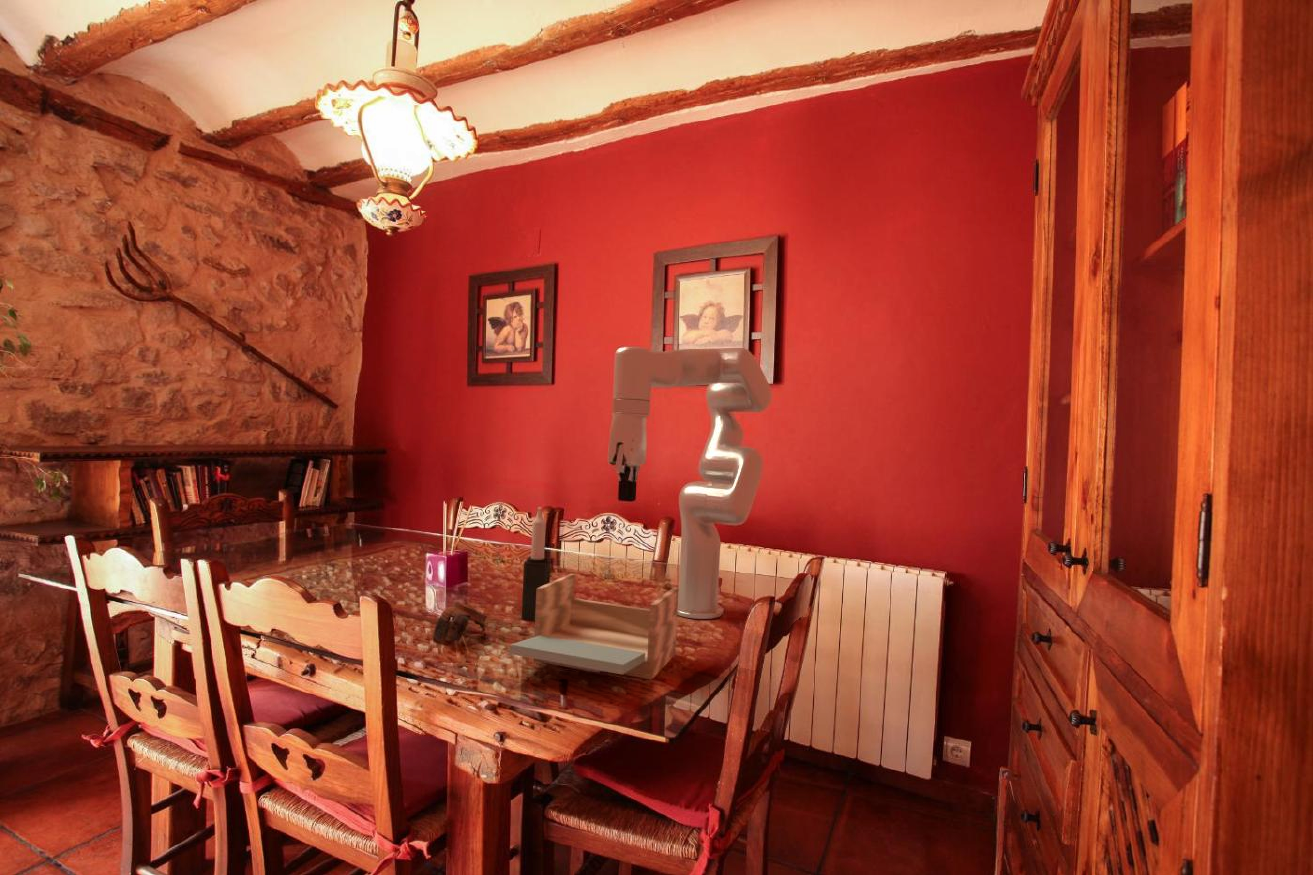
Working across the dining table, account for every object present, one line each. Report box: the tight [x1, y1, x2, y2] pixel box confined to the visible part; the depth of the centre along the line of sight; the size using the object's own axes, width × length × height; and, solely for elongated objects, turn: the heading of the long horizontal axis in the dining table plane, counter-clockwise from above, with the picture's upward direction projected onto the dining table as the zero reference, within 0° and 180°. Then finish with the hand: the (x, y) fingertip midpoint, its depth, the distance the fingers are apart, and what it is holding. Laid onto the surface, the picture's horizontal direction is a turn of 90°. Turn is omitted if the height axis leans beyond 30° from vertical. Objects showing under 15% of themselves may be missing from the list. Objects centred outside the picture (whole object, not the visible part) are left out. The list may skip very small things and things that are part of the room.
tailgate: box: [508, 635, 645, 675], centre depth 108 cm, size 2×21×11 cm
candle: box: [520, 506, 551, 622], centre depth 141 cm, size 5×5×25 cm
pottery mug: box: [432, 600, 488, 645], centre depth 125 cm, size 12×10×8 cm
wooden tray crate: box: [533, 573, 679, 680], centre depth 119 cm, size 14×23×13 cm, turn 71°
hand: (626, 500), depth 126 cm, fingers closed
